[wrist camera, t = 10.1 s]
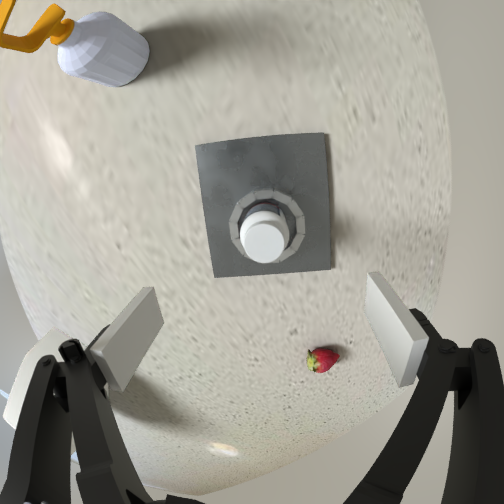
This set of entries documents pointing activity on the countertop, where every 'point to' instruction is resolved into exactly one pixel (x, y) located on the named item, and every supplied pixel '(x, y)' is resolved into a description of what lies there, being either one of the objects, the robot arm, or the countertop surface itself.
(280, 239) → the pill bottle
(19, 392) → the white toy house
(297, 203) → the duct plate
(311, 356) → the fruit
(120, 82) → the soap bottle
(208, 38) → the countertop surface
